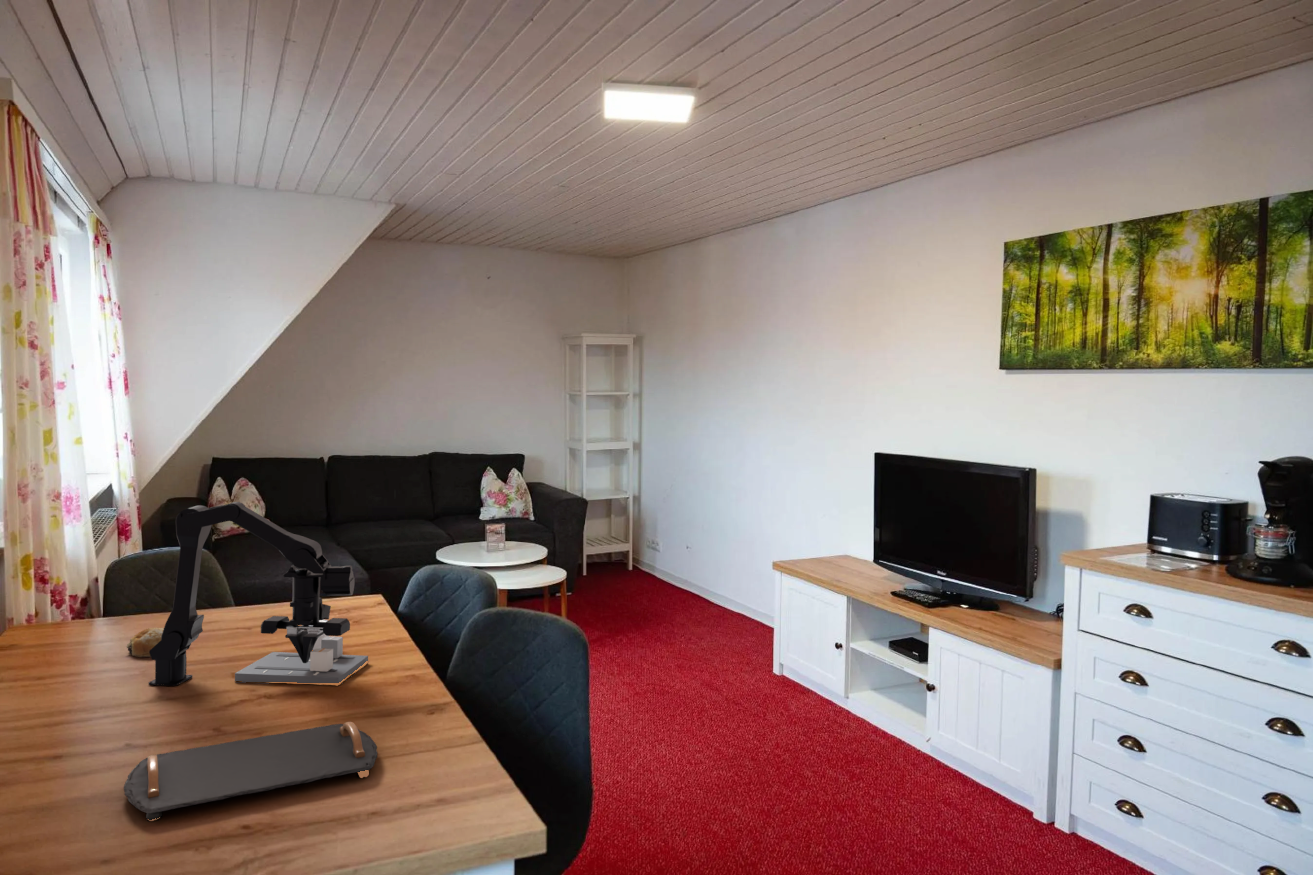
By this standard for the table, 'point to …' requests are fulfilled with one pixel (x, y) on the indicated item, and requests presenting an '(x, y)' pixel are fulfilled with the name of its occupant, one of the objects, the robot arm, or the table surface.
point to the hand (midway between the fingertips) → (305, 662)
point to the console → (297, 669)
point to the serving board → (247, 767)
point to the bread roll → (144, 642)
